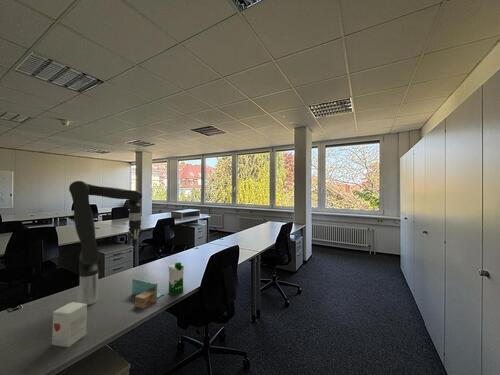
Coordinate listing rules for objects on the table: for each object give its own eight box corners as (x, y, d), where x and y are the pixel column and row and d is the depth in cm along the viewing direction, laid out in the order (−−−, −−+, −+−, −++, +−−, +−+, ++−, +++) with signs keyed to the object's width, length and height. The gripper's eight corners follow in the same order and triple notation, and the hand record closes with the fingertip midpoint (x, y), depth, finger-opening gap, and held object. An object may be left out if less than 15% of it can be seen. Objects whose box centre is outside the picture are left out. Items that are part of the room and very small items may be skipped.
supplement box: (51, 345, 96) (52, 311, 97) (70, 332, 105) (71, 301, 106) (68, 347, 95) (69, 313, 95) (86, 334, 104) (87, 303, 104)
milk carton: (173, 296, 142) (174, 265, 142) (166, 292, 148) (166, 262, 148) (185, 291, 149) (185, 262, 149) (177, 288, 155) (178, 259, 155)
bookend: (154, 300, 137) (155, 284, 137) (132, 294, 145) (132, 279, 145) (163, 294, 144) (164, 279, 144) (141, 289, 152) (142, 275, 152)
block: (143, 308, 127) (143, 298, 127) (134, 306, 130) (135, 296, 130) (156, 301, 136) (156, 291, 137) (148, 298, 139) (148, 289, 139)
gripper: (130, 220, 143) (129, 247, 143) (146, 218, 155) (146, 242, 155) (122, 220, 146) (121, 246, 146) (139, 218, 158) (138, 241, 158)
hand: (134, 244), depth 150 cm, fingers closed
